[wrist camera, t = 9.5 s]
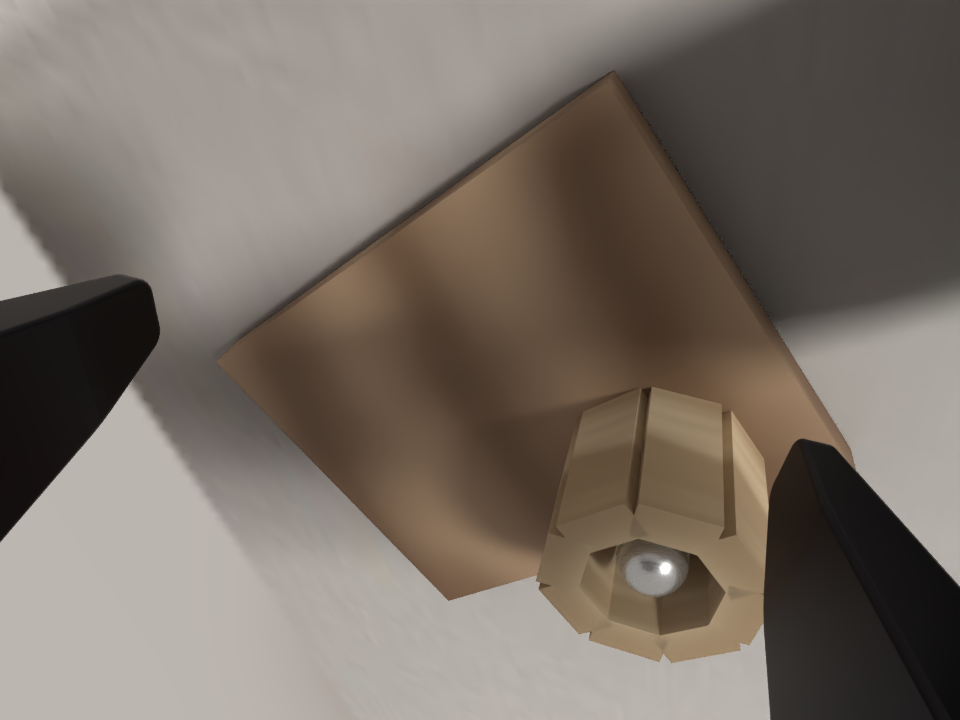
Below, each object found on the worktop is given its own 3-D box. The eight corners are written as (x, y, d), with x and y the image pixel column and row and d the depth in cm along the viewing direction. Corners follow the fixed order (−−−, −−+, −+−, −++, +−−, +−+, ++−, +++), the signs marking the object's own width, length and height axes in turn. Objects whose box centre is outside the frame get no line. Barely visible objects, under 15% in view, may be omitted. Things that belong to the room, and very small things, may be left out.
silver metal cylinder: (671, 432, 22) (663, 554, 18) (703, 476, 22) (702, 603, 18) (617, 453, 23) (598, 573, 19) (649, 494, 23) (637, 618, 19)
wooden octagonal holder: (698, 362, 20) (696, 479, 16) (792, 501, 22) (811, 637, 18) (534, 432, 23) (498, 545, 19) (629, 548, 25) (614, 673, 21)
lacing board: (614, 70, 18) (607, 83, 17) (850, 448, 22) (858, 481, 21) (237, 340, 27) (215, 361, 26) (458, 573, 31) (448, 600, 30)
